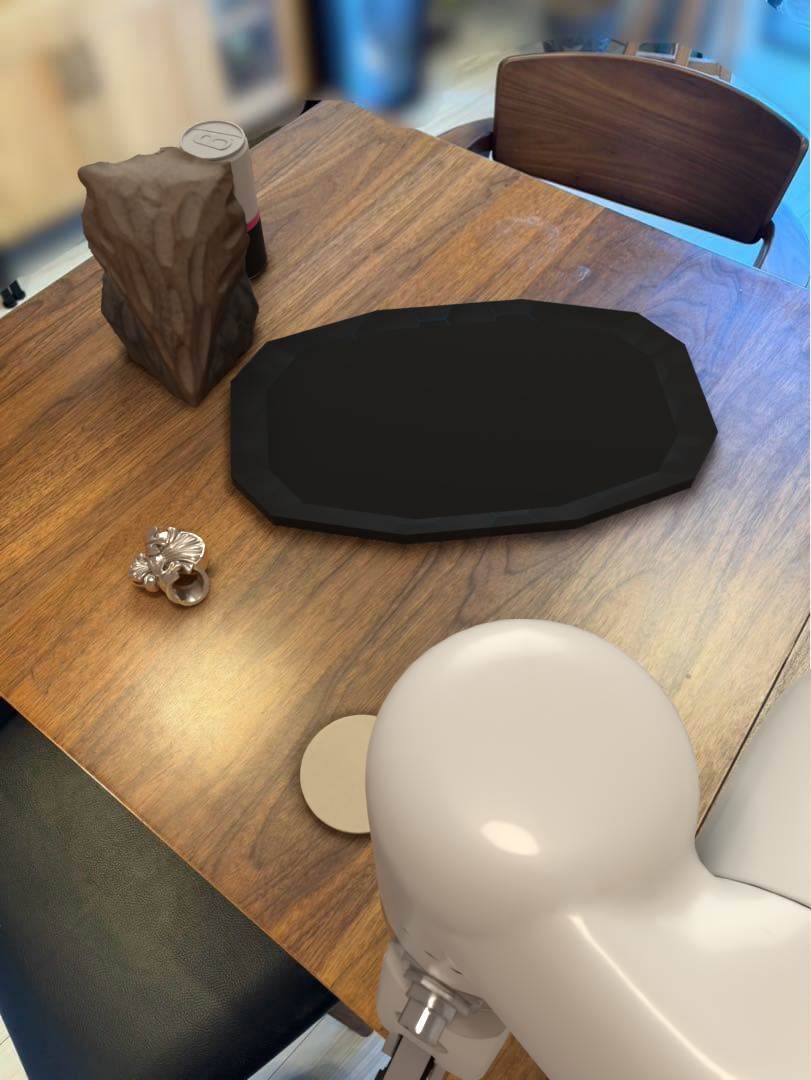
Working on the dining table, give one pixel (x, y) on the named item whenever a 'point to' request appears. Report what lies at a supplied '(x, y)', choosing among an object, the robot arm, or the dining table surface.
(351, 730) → the coaster
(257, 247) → the beverage can
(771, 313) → the dining table surface
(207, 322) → the brown rock
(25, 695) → the dining table surface
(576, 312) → the tray
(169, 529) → the ornament
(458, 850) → the robot arm
